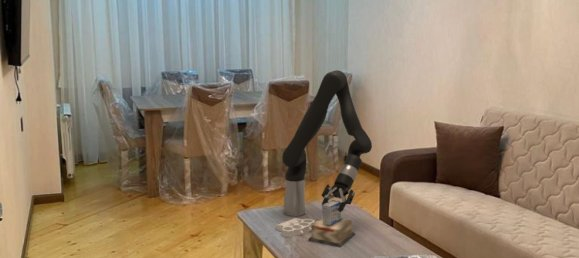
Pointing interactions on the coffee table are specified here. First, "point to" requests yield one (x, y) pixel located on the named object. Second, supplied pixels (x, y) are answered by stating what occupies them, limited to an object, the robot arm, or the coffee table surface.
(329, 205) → the medicine box
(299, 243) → the coffee table surface
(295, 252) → the coffee table surface
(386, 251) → the coffee table surface
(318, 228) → the stand
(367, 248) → the coffee table surface
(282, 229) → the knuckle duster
